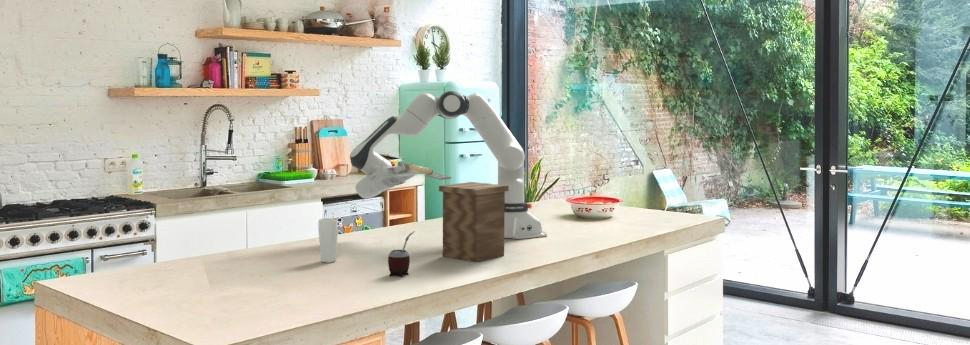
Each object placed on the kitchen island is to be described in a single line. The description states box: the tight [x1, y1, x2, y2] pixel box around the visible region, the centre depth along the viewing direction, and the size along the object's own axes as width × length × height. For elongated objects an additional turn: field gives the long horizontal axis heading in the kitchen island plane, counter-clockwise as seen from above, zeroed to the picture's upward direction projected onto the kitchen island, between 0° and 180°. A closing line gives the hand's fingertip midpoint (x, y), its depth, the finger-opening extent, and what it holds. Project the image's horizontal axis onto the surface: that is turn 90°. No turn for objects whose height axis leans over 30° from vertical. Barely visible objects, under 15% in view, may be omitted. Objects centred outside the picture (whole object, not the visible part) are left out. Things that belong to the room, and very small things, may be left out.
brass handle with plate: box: [397, 161, 452, 181], centre depth 333 cm, size 24×6×3 cm, turn 51°
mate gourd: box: [387, 230, 416, 278], centre depth 286 cm, size 8×8×15 cm
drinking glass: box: [317, 217, 339, 264], centre depth 308 cm, size 7×7×15 cm
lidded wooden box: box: [438, 181, 509, 263], centre depth 319 cm, size 18×18×26 cm
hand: (408, 165), depth 338 cm, fingers closed on brass handle with plate, 3 cm apart
